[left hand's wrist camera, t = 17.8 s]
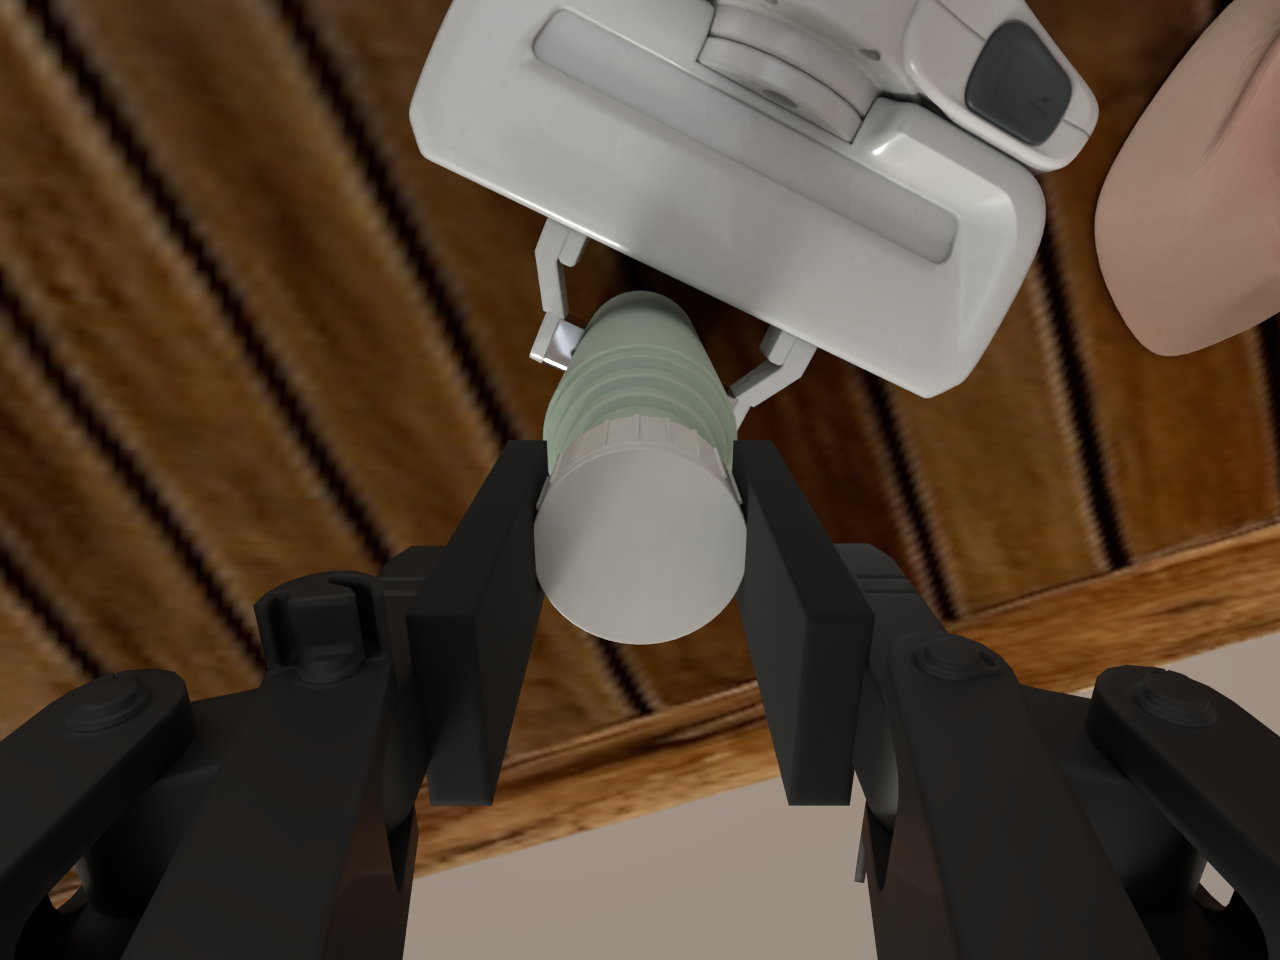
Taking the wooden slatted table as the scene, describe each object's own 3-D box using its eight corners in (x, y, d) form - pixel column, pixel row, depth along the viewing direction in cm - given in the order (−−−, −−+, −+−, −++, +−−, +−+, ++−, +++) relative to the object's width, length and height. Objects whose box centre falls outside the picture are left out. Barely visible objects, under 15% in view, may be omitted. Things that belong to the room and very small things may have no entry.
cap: (543, 587, 15) (529, 643, 13) (542, 407, 13) (525, 439, 11) (727, 594, 15) (740, 652, 13) (745, 416, 13) (762, 449, 12)
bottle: (563, 368, 32) (451, 584, 13) (619, 268, 30) (585, 347, 11) (659, 424, 32) (684, 700, 14) (719, 329, 31) (837, 495, 12)
